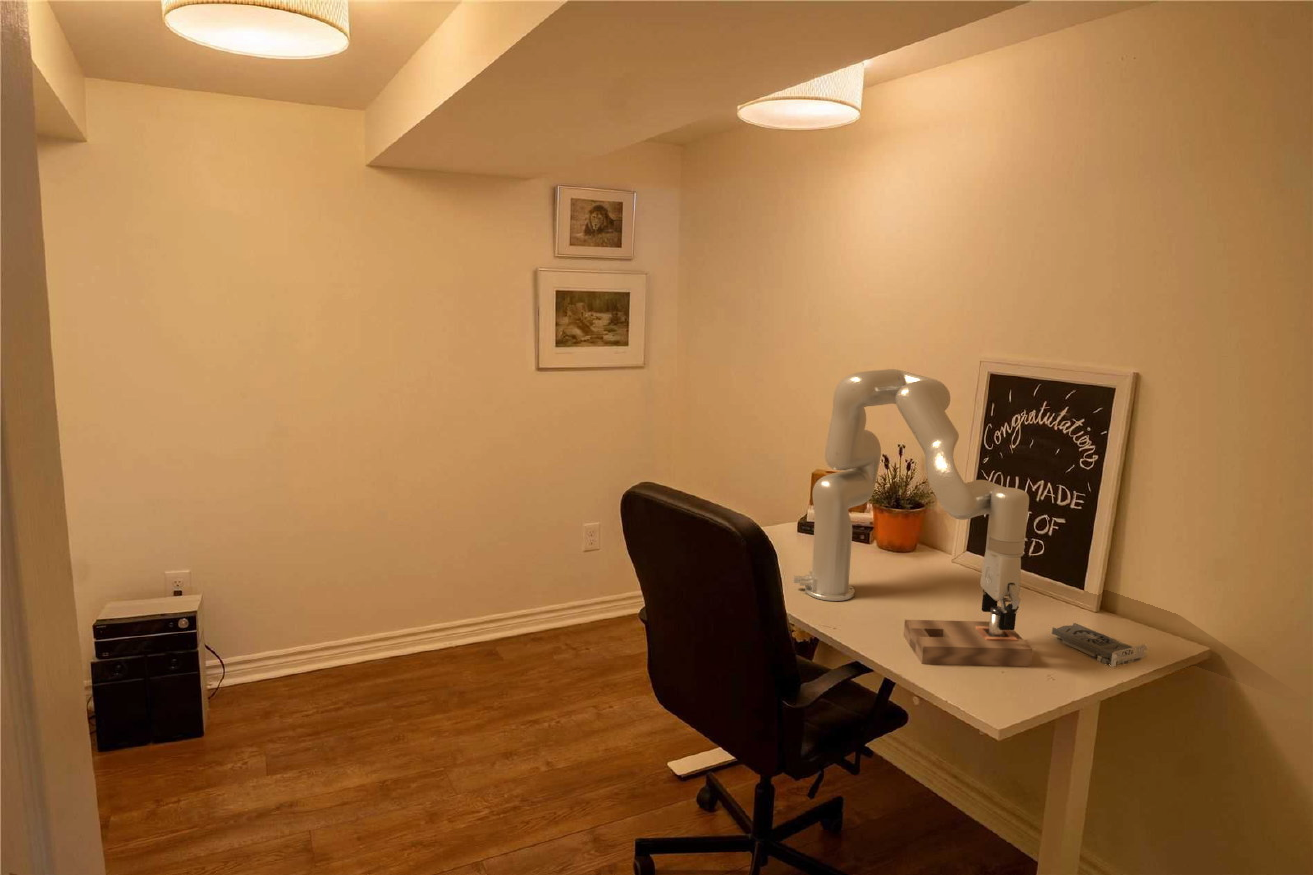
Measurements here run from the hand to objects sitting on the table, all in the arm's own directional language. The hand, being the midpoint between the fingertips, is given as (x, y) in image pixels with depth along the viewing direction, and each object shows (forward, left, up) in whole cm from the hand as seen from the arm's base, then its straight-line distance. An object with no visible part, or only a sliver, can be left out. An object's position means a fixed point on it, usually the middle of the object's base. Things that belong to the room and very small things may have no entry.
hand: (997, 620), depth 181 cm
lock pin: (0, 0, -7) cm, 7 cm away
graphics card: (+24, +3, -8) cm, 26 cm away
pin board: (-7, 0, -7) cm, 10 cm away
